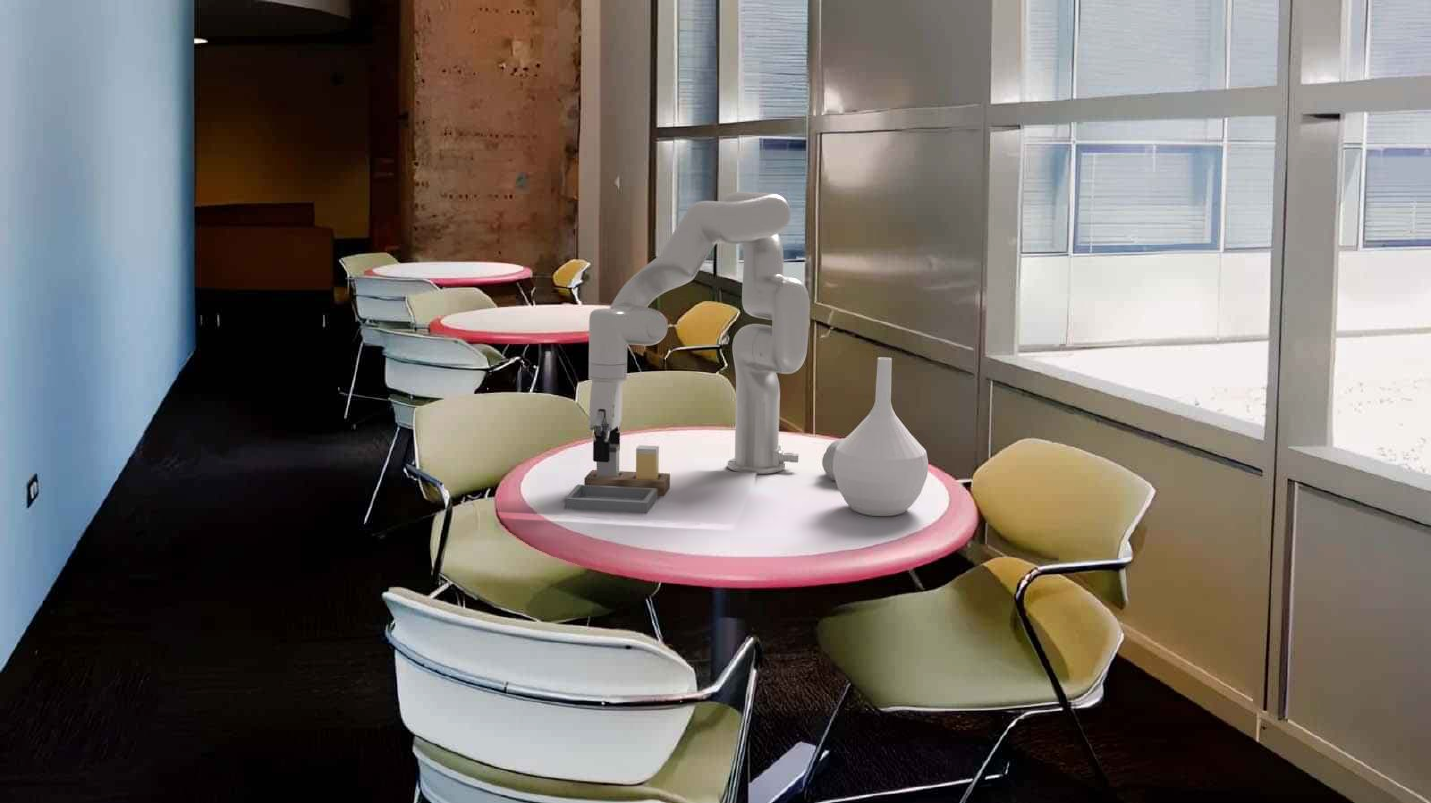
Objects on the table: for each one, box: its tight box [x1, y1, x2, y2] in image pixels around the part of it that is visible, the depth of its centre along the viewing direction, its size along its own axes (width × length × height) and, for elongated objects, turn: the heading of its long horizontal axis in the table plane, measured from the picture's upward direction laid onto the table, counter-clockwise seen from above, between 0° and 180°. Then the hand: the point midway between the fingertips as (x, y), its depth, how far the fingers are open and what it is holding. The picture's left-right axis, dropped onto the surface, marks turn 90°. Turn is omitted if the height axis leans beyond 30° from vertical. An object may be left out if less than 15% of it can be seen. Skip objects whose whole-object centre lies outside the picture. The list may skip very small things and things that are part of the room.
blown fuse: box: [596, 444, 620, 478], centre depth 263 cm, size 4×3×9 cm
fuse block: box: [583, 469, 671, 498], centre depth 263 cm, size 16×7×4 cm, turn 82°
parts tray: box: [563, 484, 659, 514], centre depth 253 cm, size 16×11×3 cm
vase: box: [833, 356, 929, 517], centre depth 253 cm, size 18×18×30 cm
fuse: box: [635, 444, 660, 480], centre depth 262 cm, size 4×3×9 cm
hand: (606, 456), depth 262 cm, fingers open, 9 cm apart
